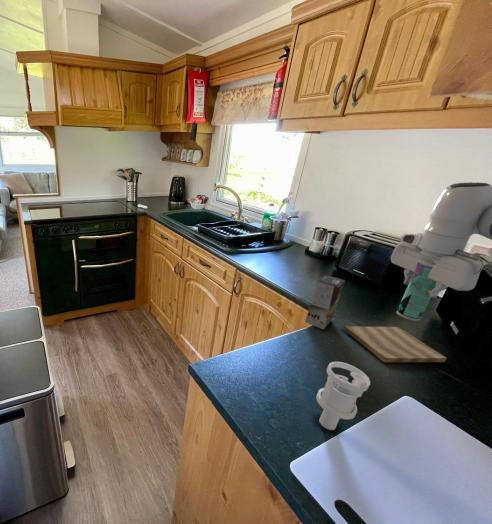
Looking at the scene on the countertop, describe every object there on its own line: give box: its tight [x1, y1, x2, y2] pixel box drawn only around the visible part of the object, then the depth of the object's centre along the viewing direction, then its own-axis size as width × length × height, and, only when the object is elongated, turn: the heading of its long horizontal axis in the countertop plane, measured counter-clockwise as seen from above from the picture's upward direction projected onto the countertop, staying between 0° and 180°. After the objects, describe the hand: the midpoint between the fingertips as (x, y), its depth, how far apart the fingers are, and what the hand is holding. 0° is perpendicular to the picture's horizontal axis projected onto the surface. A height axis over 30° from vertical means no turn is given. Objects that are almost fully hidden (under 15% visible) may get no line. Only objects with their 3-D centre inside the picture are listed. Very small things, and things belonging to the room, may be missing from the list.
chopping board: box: [343, 325, 448, 363], centre depth 92 cm, size 20×16×2 cm
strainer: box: [315, 361, 371, 431], centre depth 60 cm, size 7×7×15 cm
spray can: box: [396, 258, 437, 322], centre depth 82 cm, size 6×6×20 cm
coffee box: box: [304, 274, 346, 330], centre depth 99 cm, size 9×6×16 cm
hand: (418, 290), depth 82 cm, fingers closed on spray can, 5 cm apart
